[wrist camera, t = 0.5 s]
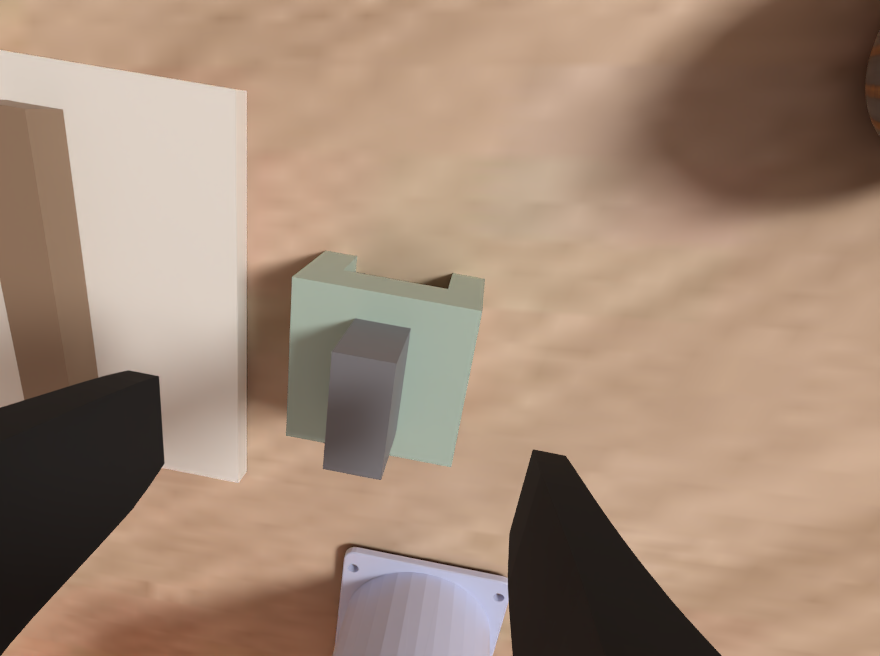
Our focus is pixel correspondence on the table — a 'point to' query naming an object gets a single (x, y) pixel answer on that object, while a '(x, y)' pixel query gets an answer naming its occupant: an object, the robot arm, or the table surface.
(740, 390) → the table surface
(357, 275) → the sage slotted block
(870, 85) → the vase
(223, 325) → the board
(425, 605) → the robot arm
